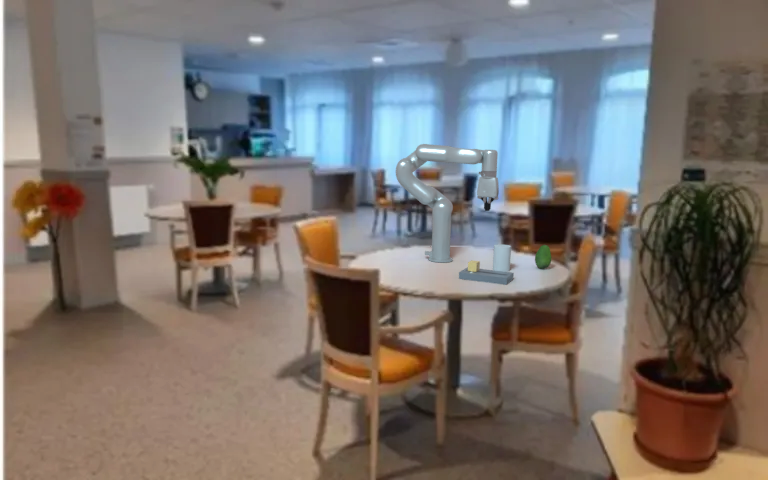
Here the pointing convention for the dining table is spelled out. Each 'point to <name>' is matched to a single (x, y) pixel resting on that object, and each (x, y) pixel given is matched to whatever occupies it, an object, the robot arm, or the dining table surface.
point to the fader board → (487, 276)
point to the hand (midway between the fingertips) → (487, 210)
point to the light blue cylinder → (501, 258)
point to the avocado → (543, 257)
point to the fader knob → (474, 266)
